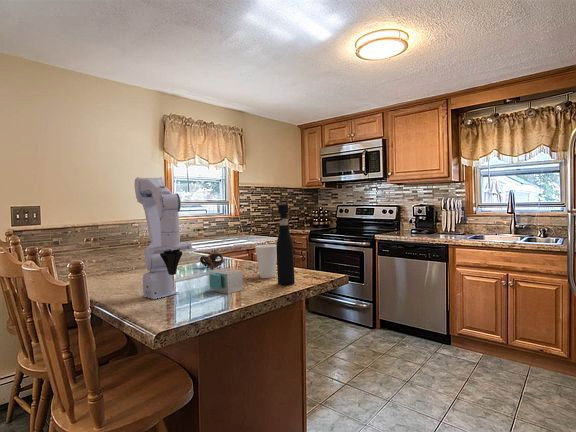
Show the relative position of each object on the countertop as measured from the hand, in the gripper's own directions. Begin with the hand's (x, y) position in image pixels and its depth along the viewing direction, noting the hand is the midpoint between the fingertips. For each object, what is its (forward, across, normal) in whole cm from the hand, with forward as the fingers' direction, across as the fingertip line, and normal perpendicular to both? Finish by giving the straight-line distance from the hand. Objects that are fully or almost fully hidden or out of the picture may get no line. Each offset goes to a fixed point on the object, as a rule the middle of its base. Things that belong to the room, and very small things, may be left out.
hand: (172, 274), depth 110 cm
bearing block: (+9, +20, -2) cm, 23 cm away
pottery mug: (+10, +48, +38) cm, 62 cm away
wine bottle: (+10, +39, -16) cm, 43 cm away
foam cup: (+10, +45, -1) cm, 46 cm away
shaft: (+8, +20, -2) cm, 21 cm away
